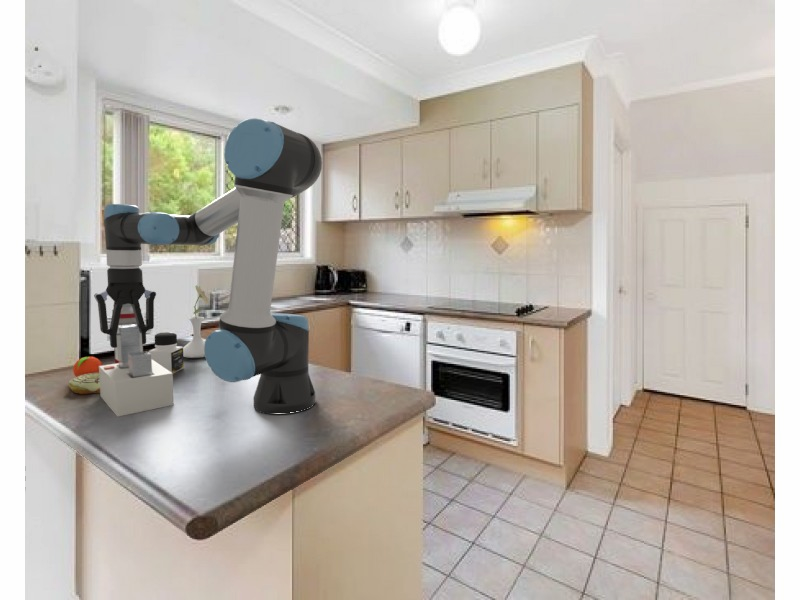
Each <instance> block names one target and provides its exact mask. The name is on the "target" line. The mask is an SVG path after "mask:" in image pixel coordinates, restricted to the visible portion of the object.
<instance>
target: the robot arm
mask: <svg viewBox="0 0 800 600" xmlns="http://www.w3.org/2000/svg"><path fill="white" fill-rule="evenodd" d="M223 149H224V151H223V155H224V163H225V164H226V165H227V168H228V170H229V172H231V174H232V175H233V176H234V183H233V187H234V188H233V189H231V190H229V191H228V192H226V193H224V194H223V195H221V196H219V197H218V198H217V199H215V200H213V201H212V202H211V203H208V204H207V205H205V206H204V207H202V208H201V209H199V210H197V211H195V212H193V213H192V214H189V215H181V214H180V215H179V214H169V213H166V212H158V211H152V212H140V208H139V207H138V206H137V205H134V204H133V205H132V204H120V203H110V204H109V203H108V204H106V205H105V206H104V208H103V209H104V213H103V214H104V216H103V217H104V218H103V225H104V227H103V228H104V235H105V236H104V239H105V249H106V250H105V251H106V265H107V266H108V267H109V268H107V270H106V272H107V273H106V274H107V275H106V276H107V286H106V289H105V290H104V291H102V292H99V293H98V292H97V293H94V295H93V296H94V298H95V300H96V302H97V309H98V319H99V327H100V332H101V333H103V334H104V335H109V345H110V347H111V348H112V349H114V348H115V352H114V355H115V354H116V359H117V360H118V361H122V356H121V337H120V335H119V334H117V330H118V325H119V319H120V314H121V309H122V306H123V305H124V304H131V306H132V308H133V312H134V315H135V319H136V322H137V325H138V326H139V343H140V352H142V344H143V345H146V344H147V332H148V331H149V330H152V329H154V328H155V324H154V323H155V321H154V320H155V315H154V313H155V308H154V306H155V299H156V296H157V293H156V292H155V291H154V290H149V289H146V288H145V285H144V280H143V279H144V278H143V268H141V266H142V265H143V262H142V261H143V260H142V245H153V246H165V245H168V246H169V245H175V246H177V245H180V246H181V245H182V246H200V247H201V246H202V247H204V246H208V245H213V244H215V243H216V242H217V240H218V238H219V237H220V233H223V232H224V231H226V230H228V229H230V228H231V227H233V226H235V225H237V229H236V237H235V245H234V253H233V255H234V256H233V265H232V274H231V280H230V281H231V282H230V291H229V301H228V308H227V309H226V310H225V311H224V312H222V313H221V314H220V315H219V323H218V329H215V330H212V332H211V333H210V334H209V335H207V337H206V339H205V340H204V341H205V345H204V352H205V357H204V359H205V360H206V363H207V364H208V367H209V368H210V369H211V371H212V372H213V374H214V375H215V376H217V377H218V378H219V379H220V380H223V381H225V382H228V383H238V382H241V381H248V380H250V379H252V378H254V377H256V376H259V375H260V377H259V379H258V383H257V385H256V389H255V391H254V396H253V408H254V410H256V411H257V410H258V411H257V412H259V411H261V412H260V413H262V412H264V413H263V414H267V413H290V412H296V411H301V410H304V409H307V408H309V407H311V406H312V405H314V403H315V404H316V402H315V401H317V400H316V398H317V397H316V391H315V388H314V386H313V382H312V380H311V376H310V372H309V370H310V369H309V364H310V363H309V361H310V360H309V355H310V354H309V353H310V352H309V347H310V345H309V344H310V343H309V341H310V340H309V339H310V337H309V334H310V329H309V320H308V318H307V317H306V315H302V314H293V313H283V312H282V313H281V312H280V313H279V312H271V307H272V299H273V291H274V285H275V276H276V269H277V268H276V267H277V261H278V253H279V245H280V237H281V231H282V230H281V229H282V228H281V227H282V221H283V213H284V206H285V203H286V202H288V201H289V200H291V199H293V198H295V197H297V196H298V195H300V194H301V193H303V192H305V191H306V190H308V189H309V188H311V187H312V186H313V185H314V184H315V183H316V182H317V180H318V178H319V177H320V175H321V173H322V167H323V161H322V160H323V159H322V154H321V152H320V149H319V148H318V146H317V144H316V143H315V142H314V141H313V140H312V139H311V138H309V136H307V135H305V134H303V133H300V132H296V131H295V130H294V131H293V130H292V129H290V128H287V127H285V126H283V125H280V124H278V123H276V122H273V121H269V120H265V119H261V118H257V117H254V118H251V117H250V118H247V119H244V120H241V122H239V123H238V124H237V126H235V127H233V128H232V130H231V131H230V133H229V134H228V135H227V138H226V140H225V144H224V148H223ZM143 295H144V298H145V320H144V317H143V313H142V308H141V305H140V299H141V298H142V297H143ZM107 297H109V298H111V300H113V309H112V310H113V313H112V314H111V320H110V325H109V324H108V314H107V313H108V311H107V305H106V301H107V299H108V298H107ZM314 406H315V405H314ZM311 408H312V407H311ZM307 410H308V409H307Z"/></svg>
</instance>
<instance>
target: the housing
mask: <svg viewBox="0 0 800 600" xmlns="http://www.w3.org/2000/svg"><path fill="white" fill-rule="evenodd" d="M151 360H152V359H151ZM173 375H174V374H173V373H171V372H170V371H168V370H167V369H165V368H164V367H162V366H161V365H160V364H158V363H157V362H155V361H154V360H152V375H149V376H143V377H137V378H131V377H129V368H125V369H120V368H119V363H117V364H115V363H112V364H105V365H103V364H102V366H99V378H100V393H99V394H100V398H101V399H102V400H103V401H104V403H106V404H107V406H108V407H109V409H110V410H111V411H112V412H113V413H114V414H115V416H116V417H117V418H118V417H123V416H127V415H132V414H136V413H140V412H141V413H142V412H146V411H152V410H155V409H159V408H160V409H161V408H165V407H169V405H170V406H174V405H175V404H174V403H175V401H174V398H175V397H174V376H173Z"/></svg>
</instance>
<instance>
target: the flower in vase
mask: <svg viewBox="0 0 800 600" xmlns="http://www.w3.org/2000/svg"><path fill="white" fill-rule="evenodd" d="M194 287H195V290H196V292H197V294H198V297H197V299H196V300H195V304H194V306H193V308H194V311H193V315H194V316H191V317H188V320H189V321H190V323H191V325H192V330H193V332H192V333H193V336H192V339H191V341H189V342H188V343H187V344H186V345H184V346H182V347H183V358H188V359H200V358H205V352H204V345H205V341H206V340H204V339H203V338H202V336H201V327H202V323H203V321H204V319H205V317H204V316H197V314H199V313H200V312H201V311H202V309H200V308H199V307H198V308H197V307H196V306H197V303H198V301H199V299H201V300H202V301H203V302H204V303H205V304H207V305H210V303H211V302H210V301H209V297H208V296H207V295H206V294H205V293H206V292H205V291H204V290H203V289H202V288H201V286H200V285H199V286H198V284H196V285H195V286H194Z"/></svg>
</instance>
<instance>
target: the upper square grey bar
mask: <svg viewBox="0 0 800 600" xmlns="http://www.w3.org/2000/svg"><path fill="white" fill-rule="evenodd" d="M117 334H119V335H120V337H121V356H122V361H119V368H120V369H125V368H129V365H128V353H136V352H140V343H139V326H137V325H135V324H131V325H120V326H118V330H117Z"/></svg>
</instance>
